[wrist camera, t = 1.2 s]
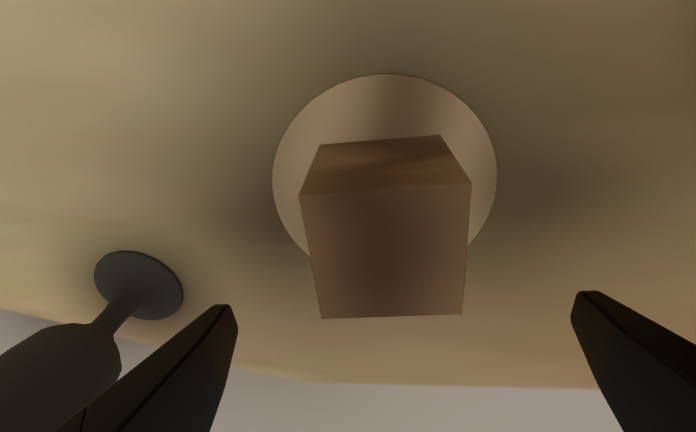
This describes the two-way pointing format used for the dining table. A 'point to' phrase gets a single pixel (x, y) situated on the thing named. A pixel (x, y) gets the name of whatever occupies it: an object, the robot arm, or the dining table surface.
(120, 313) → the sundae
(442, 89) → the cork coaster
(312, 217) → the walnut block
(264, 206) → the dining table surface
